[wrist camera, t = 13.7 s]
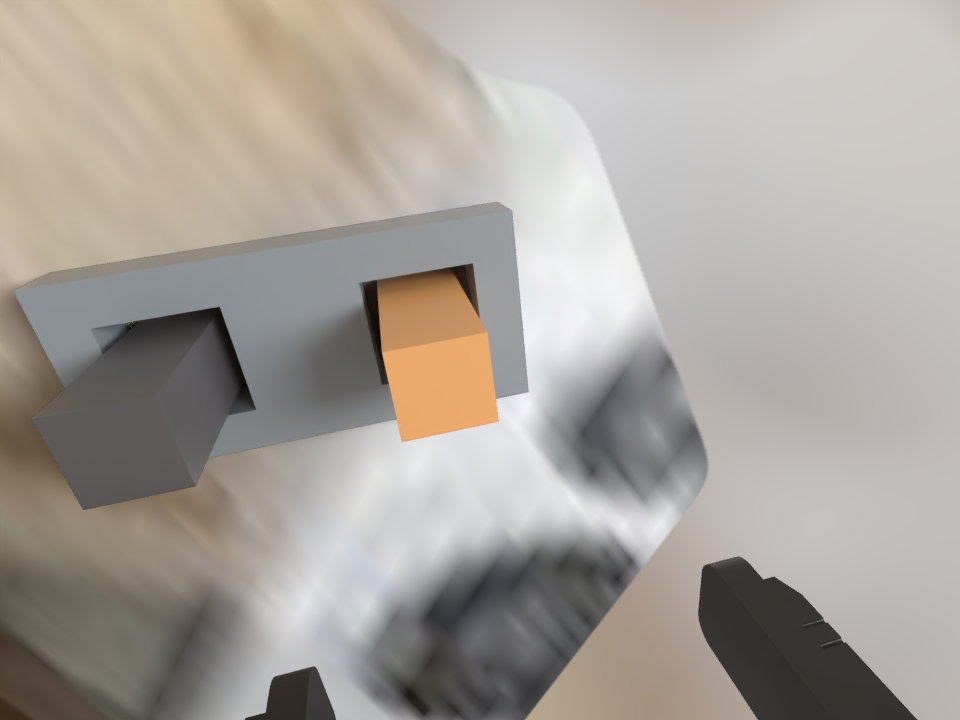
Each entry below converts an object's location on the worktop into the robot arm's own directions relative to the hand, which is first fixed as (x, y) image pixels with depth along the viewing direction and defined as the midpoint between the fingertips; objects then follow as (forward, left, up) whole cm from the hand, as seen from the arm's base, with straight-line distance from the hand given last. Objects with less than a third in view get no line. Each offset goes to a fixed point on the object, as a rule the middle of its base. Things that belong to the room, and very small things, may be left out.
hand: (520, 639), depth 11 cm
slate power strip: (-6, 0, -21) cm, 22 cm away
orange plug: (0, 0, -21) cm, 21 cm away
